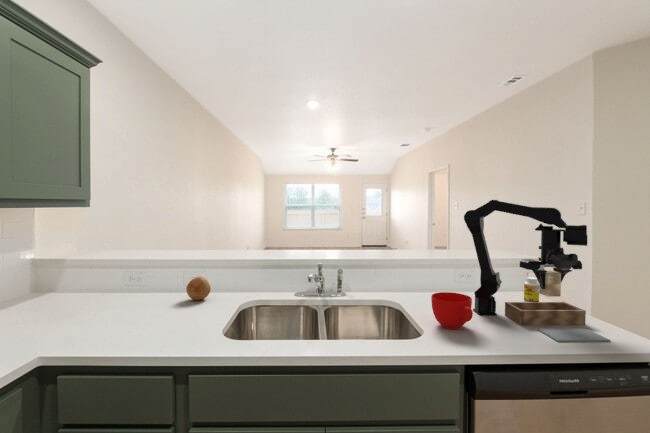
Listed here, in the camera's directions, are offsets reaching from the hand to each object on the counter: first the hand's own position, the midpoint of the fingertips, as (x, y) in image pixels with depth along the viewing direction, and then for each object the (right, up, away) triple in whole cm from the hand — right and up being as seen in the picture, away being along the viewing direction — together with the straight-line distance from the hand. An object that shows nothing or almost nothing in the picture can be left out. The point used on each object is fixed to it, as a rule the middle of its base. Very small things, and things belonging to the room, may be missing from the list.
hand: (549, 289), depth 126 cm
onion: (-132, -11, +31) cm, 137 cm away
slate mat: (0, -12, -11) cm, 17 cm away
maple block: (0, -2, 0) cm, 2 cm away
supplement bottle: (+9, -11, +27) cm, 30 cm away
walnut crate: (0, -12, +4) cm, 12 cm away
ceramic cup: (-35, -12, -4) cm, 37 cm away
